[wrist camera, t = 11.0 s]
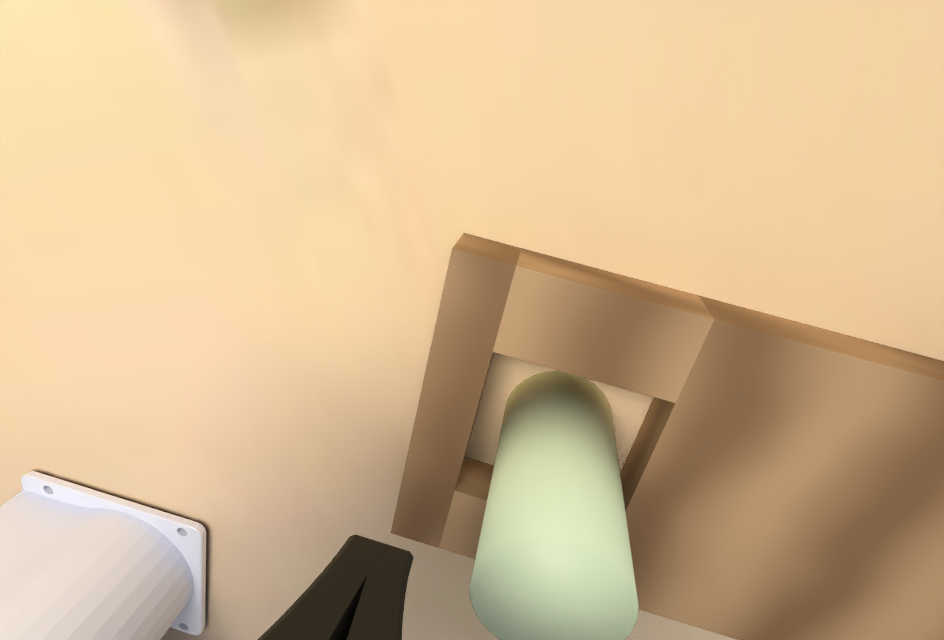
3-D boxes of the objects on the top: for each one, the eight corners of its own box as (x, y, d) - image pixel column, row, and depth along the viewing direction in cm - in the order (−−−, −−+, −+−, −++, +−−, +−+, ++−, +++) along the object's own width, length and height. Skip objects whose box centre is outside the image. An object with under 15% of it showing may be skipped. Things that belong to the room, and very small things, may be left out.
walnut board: (405, 497, 23) (390, 532, 21) (464, 233, 18) (452, 248, 16) (922, 654, 21) (955, 706, 19) (1144, 414, 16) (1216, 454, 14)
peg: (494, 444, 21) (454, 630, 14) (519, 358, 19) (490, 517, 12) (592, 473, 21) (606, 678, 13) (627, 389, 19) (664, 570, 12)
